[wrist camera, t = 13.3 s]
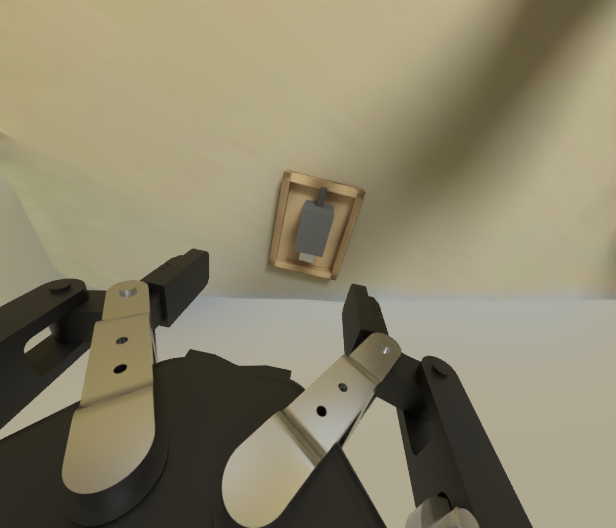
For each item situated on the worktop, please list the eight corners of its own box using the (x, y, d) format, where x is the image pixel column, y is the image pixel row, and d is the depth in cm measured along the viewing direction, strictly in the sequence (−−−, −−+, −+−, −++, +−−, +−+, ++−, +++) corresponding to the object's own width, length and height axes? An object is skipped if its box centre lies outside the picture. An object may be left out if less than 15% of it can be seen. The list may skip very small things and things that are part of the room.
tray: (363, 189, 32) (365, 192, 30) (335, 273, 39) (335, 280, 37) (286, 169, 32) (283, 171, 30) (271, 258, 38) (268, 264, 36)
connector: (338, 189, 31) (339, 197, 27) (319, 256, 36) (318, 270, 33) (310, 182, 31) (307, 188, 27) (295, 250, 36) (290, 264, 32)
